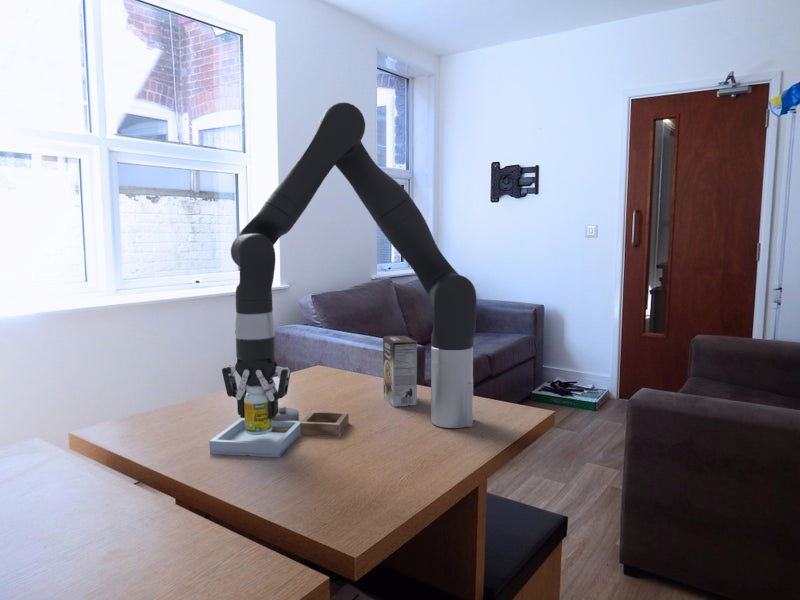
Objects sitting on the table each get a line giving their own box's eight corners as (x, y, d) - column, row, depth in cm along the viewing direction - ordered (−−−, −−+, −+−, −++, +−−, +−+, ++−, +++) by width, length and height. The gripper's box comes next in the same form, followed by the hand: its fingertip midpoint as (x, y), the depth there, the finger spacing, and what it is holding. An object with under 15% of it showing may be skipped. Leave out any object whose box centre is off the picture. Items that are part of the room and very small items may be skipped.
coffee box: (382, 397, 149) (382, 336, 147) (406, 395, 151) (406, 334, 149) (392, 407, 140) (392, 342, 139) (417, 405, 142) (417, 340, 140)
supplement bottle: (263, 425, 120) (262, 380, 119) (277, 431, 116) (276, 384, 115) (240, 431, 117) (238, 384, 116) (253, 437, 113) (251, 389, 112)
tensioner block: (349, 422, 129) (349, 403, 129) (338, 437, 119) (337, 416, 119) (269, 418, 132) (268, 400, 131) (252, 433, 122) (251, 413, 122)
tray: (302, 432, 122) (302, 421, 122) (279, 457, 109) (279, 444, 108) (240, 429, 125) (240, 418, 124) (209, 453, 111) (209, 441, 110)
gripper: (296, 332, 117) (298, 413, 119) (229, 330, 119) (232, 410, 121) (283, 338, 110) (285, 425, 111) (212, 337, 112) (215, 421, 114)
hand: (258, 417), depth 116 cm, fingers closed on supplement bottle, 5 cm apart
